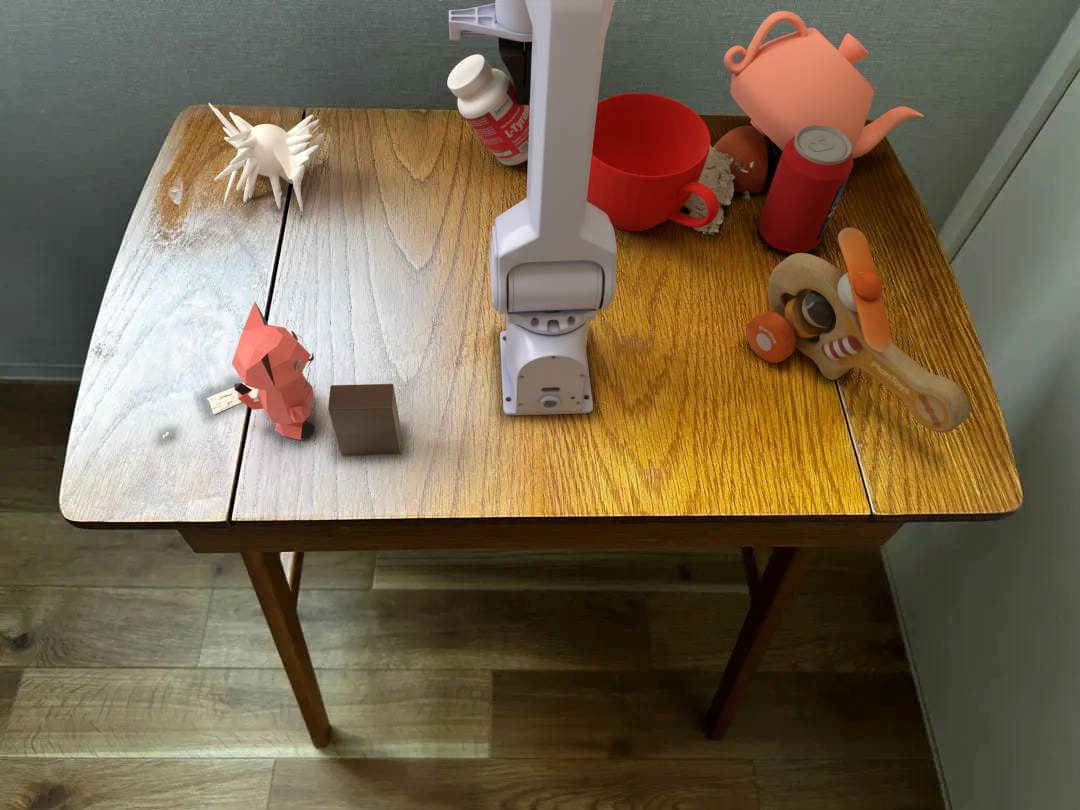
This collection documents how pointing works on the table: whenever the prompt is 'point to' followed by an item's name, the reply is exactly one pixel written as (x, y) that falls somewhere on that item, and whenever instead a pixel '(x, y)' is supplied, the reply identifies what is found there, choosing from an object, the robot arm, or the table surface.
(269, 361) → the cat figurine
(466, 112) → the pill bottle
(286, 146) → the spiky ball
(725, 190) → the stone fragment
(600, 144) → the ceramic cup
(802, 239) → the beverage can
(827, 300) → the toy helicopter
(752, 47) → the teapot
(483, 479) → the table surface
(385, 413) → the walnut block
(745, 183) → the brown egg
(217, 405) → the card
